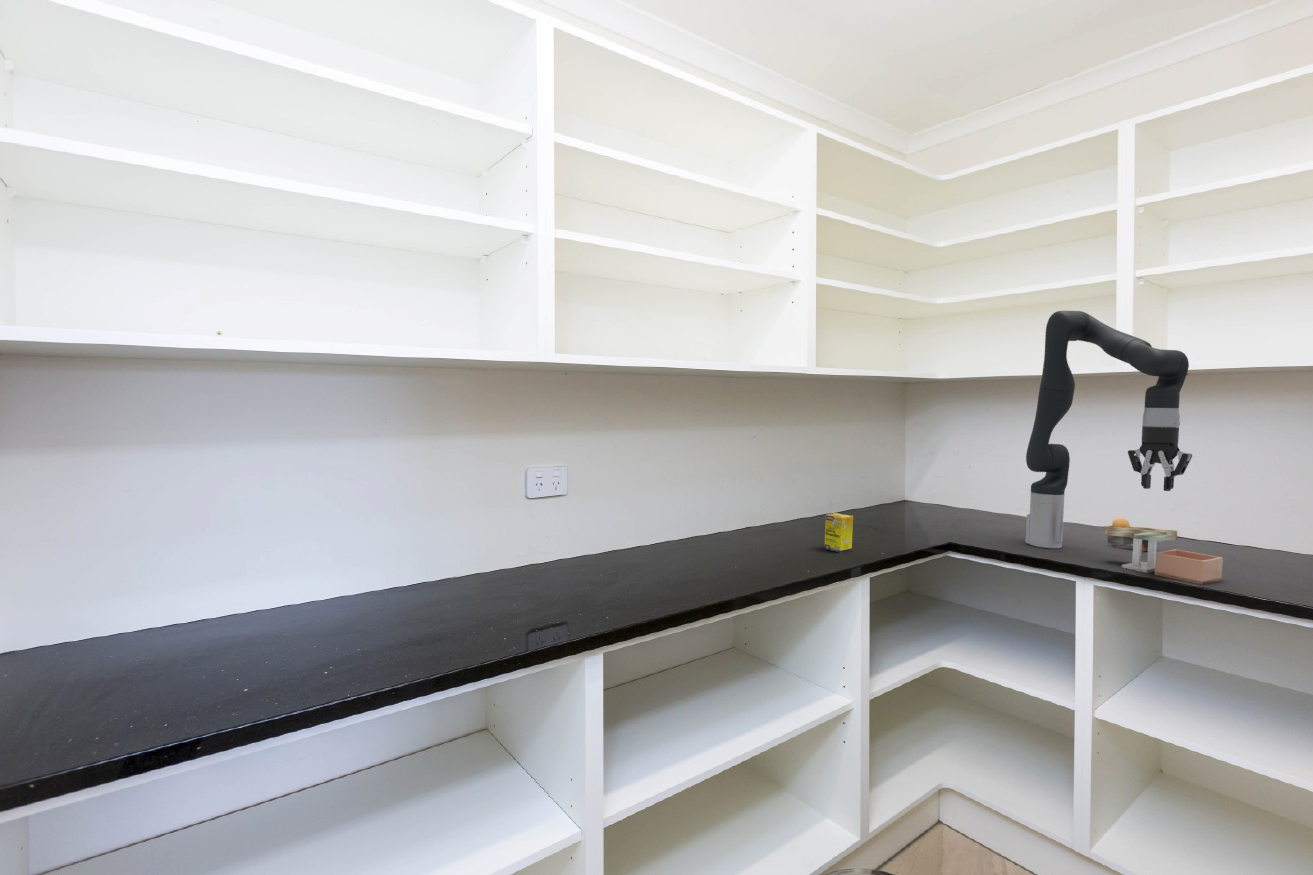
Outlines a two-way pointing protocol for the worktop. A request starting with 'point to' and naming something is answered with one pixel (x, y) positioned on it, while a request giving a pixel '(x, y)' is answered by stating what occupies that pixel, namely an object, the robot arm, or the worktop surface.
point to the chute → (1126, 534)
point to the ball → (1120, 523)
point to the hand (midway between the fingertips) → (1156, 489)
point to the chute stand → (1136, 558)
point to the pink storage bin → (1189, 566)
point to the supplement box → (838, 532)
